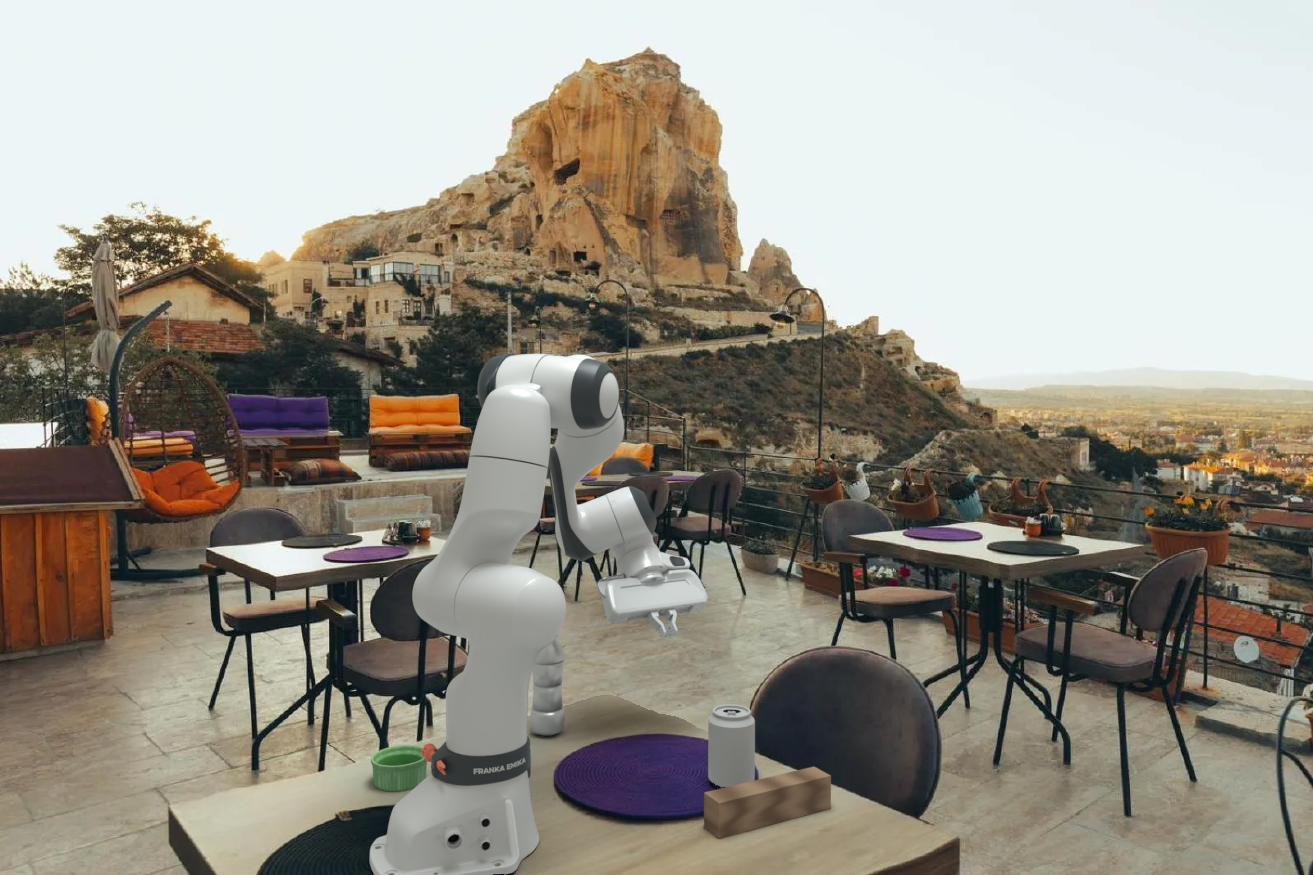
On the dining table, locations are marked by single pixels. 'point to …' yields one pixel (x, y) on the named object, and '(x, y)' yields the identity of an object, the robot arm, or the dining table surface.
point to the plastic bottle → (548, 691)
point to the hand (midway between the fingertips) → (669, 635)
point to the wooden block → (766, 801)
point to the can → (731, 745)
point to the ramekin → (398, 768)
